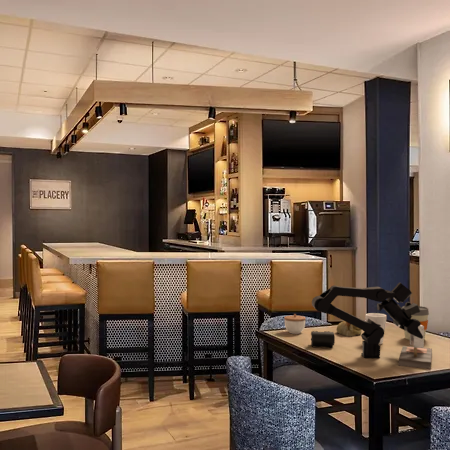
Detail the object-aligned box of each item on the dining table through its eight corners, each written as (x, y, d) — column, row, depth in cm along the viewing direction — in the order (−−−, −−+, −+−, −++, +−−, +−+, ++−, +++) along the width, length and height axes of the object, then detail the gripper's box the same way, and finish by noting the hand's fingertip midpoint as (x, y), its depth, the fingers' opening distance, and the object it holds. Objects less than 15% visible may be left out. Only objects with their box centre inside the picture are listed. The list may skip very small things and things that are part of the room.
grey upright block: (414, 347, 230) (414, 326, 230) (409, 344, 235) (410, 323, 235) (423, 347, 230) (424, 326, 230) (419, 345, 235) (419, 324, 235)
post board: (430, 368, 213) (431, 353, 213) (398, 365, 218) (398, 350, 218) (432, 354, 236) (432, 340, 236) (402, 351, 240) (402, 338, 240)
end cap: (312, 348, 246) (312, 333, 246) (310, 344, 253) (310, 329, 253) (334, 348, 246) (334, 333, 246) (331, 344, 253) (331, 330, 253)
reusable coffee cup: (414, 342, 258) (414, 310, 258) (395, 337, 270) (395, 306, 269) (434, 340, 263) (434, 308, 263) (415, 334, 275) (415, 305, 274)
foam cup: (361, 341, 260) (361, 313, 260) (377, 339, 264) (377, 312, 263) (374, 345, 251) (374, 317, 251) (390, 343, 255) (390, 315, 255)
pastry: (357, 337, 268) (357, 321, 268) (332, 335, 274) (332, 319, 274) (365, 332, 280) (365, 317, 280) (341, 330, 287) (341, 314, 287)
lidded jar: (288, 329, 286) (288, 311, 286) (308, 331, 282) (308, 313, 281) (281, 333, 276) (281, 314, 276) (301, 335, 272) (302, 316, 272)
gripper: (416, 300, 222) (442, 327, 223) (400, 294, 241) (425, 319, 242) (396, 319, 222) (423, 347, 223) (382, 311, 241) (407, 337, 242)
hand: (420, 336), depth 232 cm, fingers closed on grey upright block, 5 cm apart
